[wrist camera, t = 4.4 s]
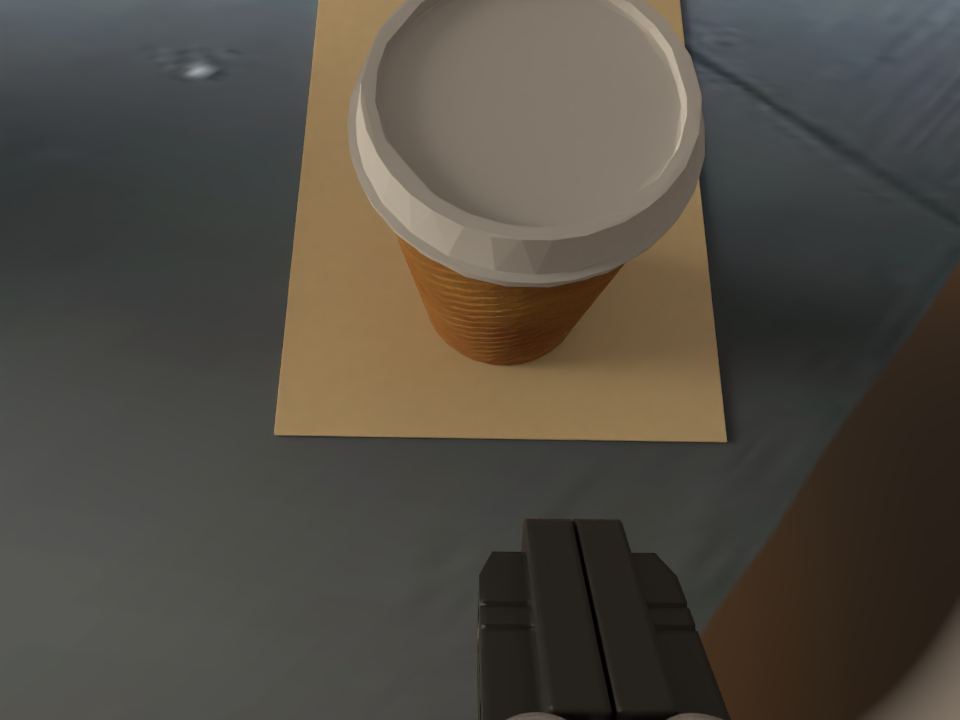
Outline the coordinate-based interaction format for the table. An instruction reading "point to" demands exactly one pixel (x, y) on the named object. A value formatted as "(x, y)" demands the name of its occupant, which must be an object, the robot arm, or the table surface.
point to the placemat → (419, 348)
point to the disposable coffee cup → (524, 157)
